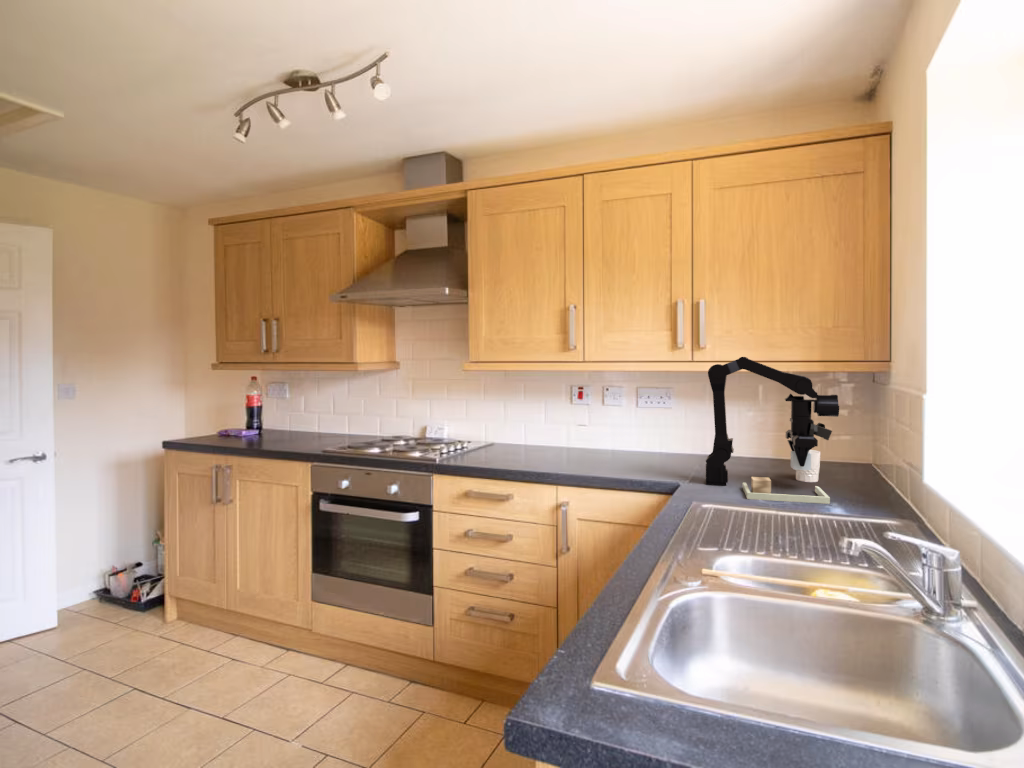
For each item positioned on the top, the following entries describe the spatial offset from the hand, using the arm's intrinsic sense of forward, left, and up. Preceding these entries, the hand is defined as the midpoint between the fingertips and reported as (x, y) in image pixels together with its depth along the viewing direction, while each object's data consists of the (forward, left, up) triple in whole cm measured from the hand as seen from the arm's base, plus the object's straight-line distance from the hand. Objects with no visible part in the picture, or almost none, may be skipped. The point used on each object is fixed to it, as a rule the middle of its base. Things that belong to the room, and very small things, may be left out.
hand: (800, 464), depth 183 cm
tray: (-6, -10, -8) cm, 14 cm away
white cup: (+5, +16, -8) cm, 18 cm away
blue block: (0, 0, -1) cm, 1 cm away
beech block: (-13, -10, -8) cm, 18 cm away
